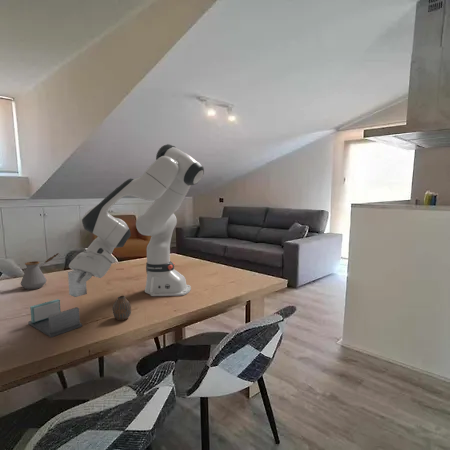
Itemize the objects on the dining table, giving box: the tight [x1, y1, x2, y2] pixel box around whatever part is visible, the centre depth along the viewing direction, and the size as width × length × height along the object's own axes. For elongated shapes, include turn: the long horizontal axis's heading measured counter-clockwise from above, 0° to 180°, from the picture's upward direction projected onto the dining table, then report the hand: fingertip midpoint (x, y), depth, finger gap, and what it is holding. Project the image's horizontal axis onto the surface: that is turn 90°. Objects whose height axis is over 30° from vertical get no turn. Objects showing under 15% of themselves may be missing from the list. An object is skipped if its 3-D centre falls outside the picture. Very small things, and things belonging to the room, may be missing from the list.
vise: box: [27, 306, 83, 338], centre depth 119 cm, size 18×11×7 cm, turn 53°
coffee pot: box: [20, 252, 61, 291], centre depth 169 cm, size 21×12×15 cm, turn 154°
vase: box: [112, 295, 132, 321], centre depth 125 cm, size 7×7×9 cm
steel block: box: [67, 270, 88, 298], centre depth 124 cm, size 4×4×9 cm
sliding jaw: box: [29, 298, 62, 323], centre depth 123 cm, size 2×10×6 cm, turn 143°
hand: (76, 282), depth 123 cm, fingers closed on steel block, 4 cm apart
